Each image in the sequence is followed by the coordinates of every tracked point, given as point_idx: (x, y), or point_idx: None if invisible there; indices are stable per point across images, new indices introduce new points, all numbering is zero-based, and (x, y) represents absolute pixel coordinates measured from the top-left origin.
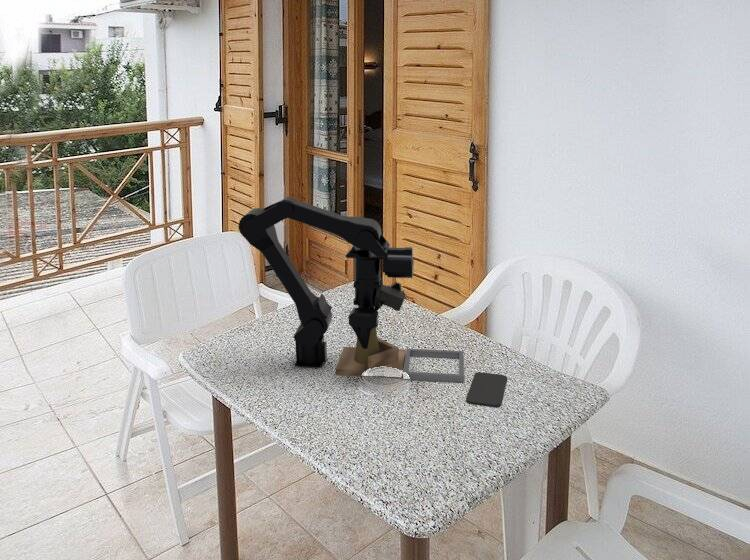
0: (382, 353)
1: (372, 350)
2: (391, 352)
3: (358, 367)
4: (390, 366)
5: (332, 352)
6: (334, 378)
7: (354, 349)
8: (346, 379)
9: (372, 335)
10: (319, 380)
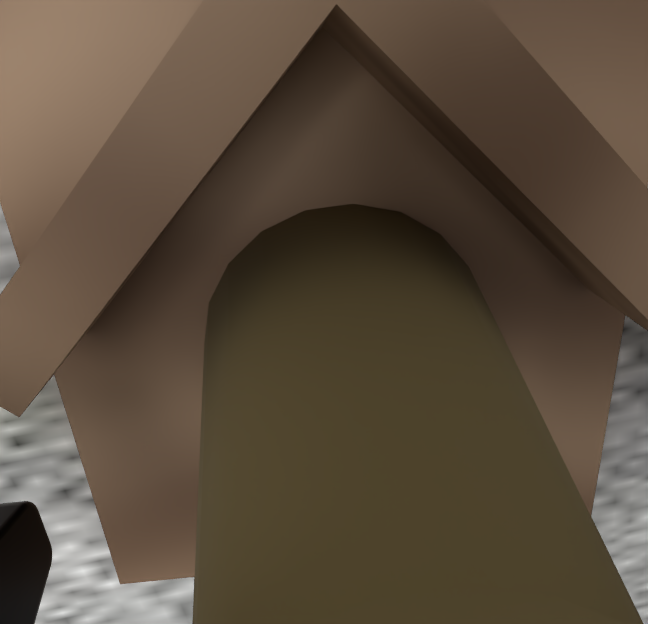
0: (581, 168)
1: (497, 337)
2: (489, 17)
3: (560, 379)
4: (530, 30)
5: (163, 602)
6: (618, 490)
7: (151, 496)
8: (640, 411)
9: (573, 514)
10: (645, 563)
